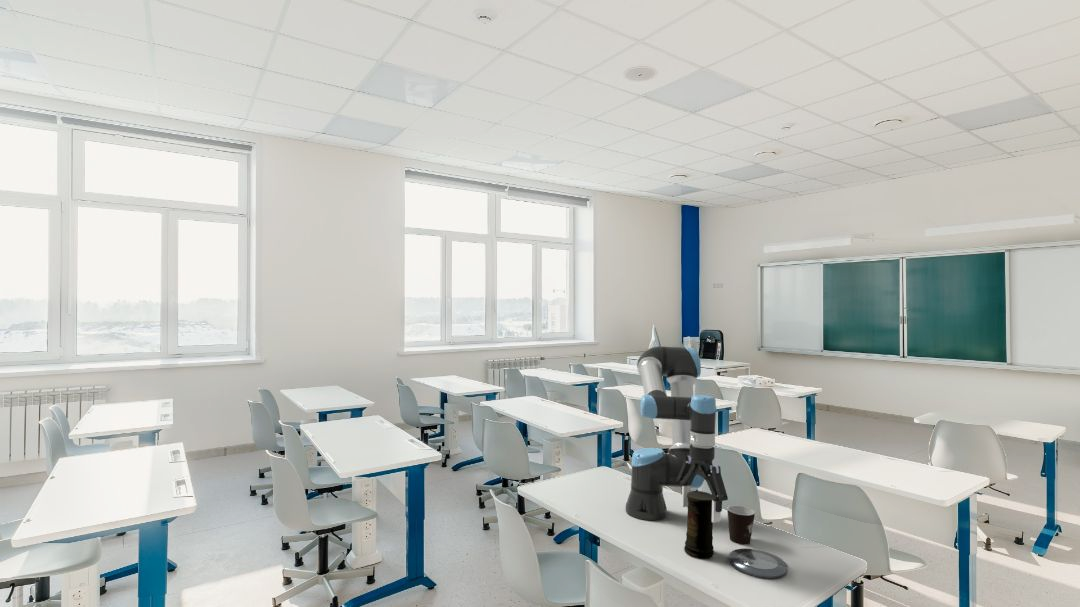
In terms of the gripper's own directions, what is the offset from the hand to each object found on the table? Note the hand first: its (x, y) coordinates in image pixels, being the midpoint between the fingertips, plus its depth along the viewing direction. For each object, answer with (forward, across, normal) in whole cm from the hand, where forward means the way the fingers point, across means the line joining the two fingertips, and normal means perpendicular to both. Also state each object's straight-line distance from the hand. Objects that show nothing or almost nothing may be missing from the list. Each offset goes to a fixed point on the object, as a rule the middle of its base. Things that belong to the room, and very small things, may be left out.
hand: (700, 513), depth 163 cm
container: (+12, 0, 0) cm, 12 cm away
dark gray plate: (+12, +12, +11) cm, 21 cm away
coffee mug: (+12, -2, +21) cm, 25 cm away
